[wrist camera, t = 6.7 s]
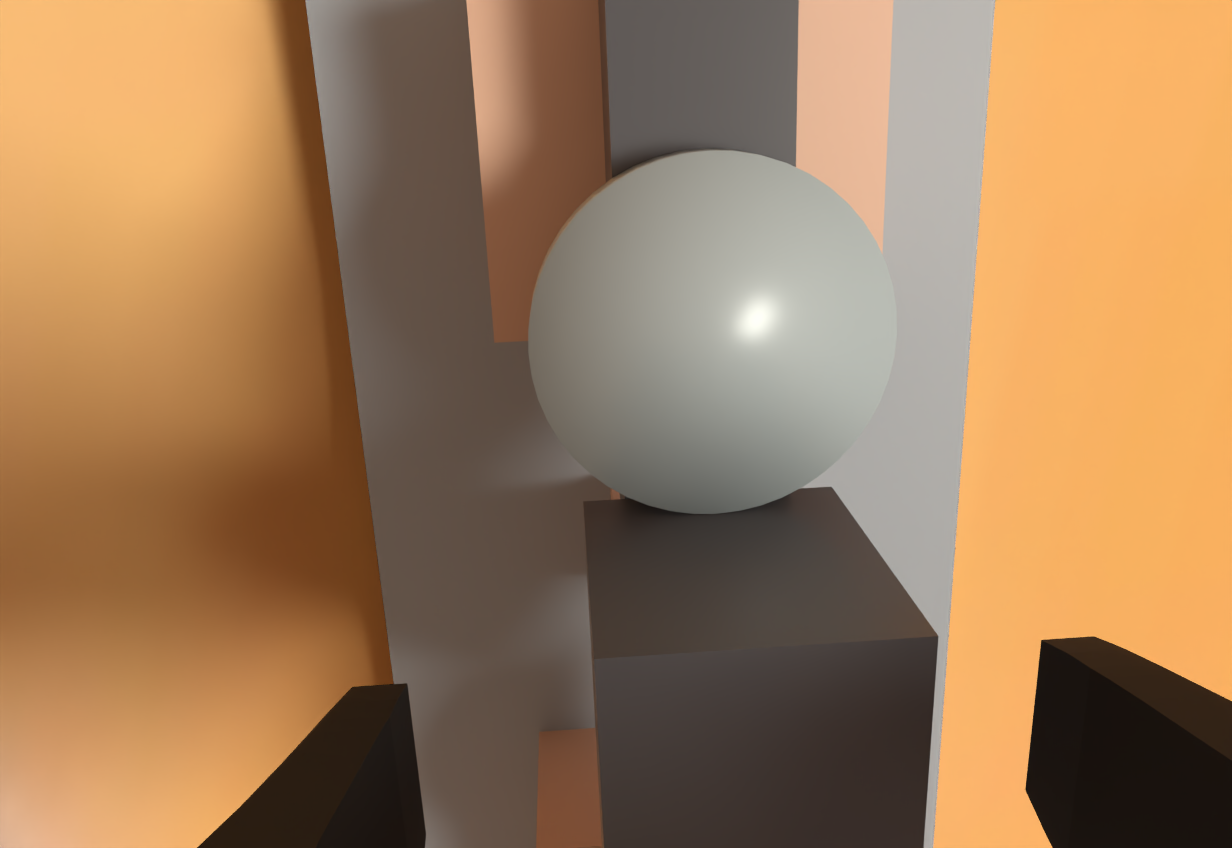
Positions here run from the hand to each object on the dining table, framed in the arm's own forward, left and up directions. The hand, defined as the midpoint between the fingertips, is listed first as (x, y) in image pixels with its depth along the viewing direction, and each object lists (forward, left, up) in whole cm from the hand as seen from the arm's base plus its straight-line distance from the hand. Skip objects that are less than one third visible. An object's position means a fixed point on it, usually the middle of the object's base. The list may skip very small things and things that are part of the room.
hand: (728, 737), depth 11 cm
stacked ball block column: (0, 0, -3) cm, 3 cm away
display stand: (0, 0, -7) cm, 7 cm away
